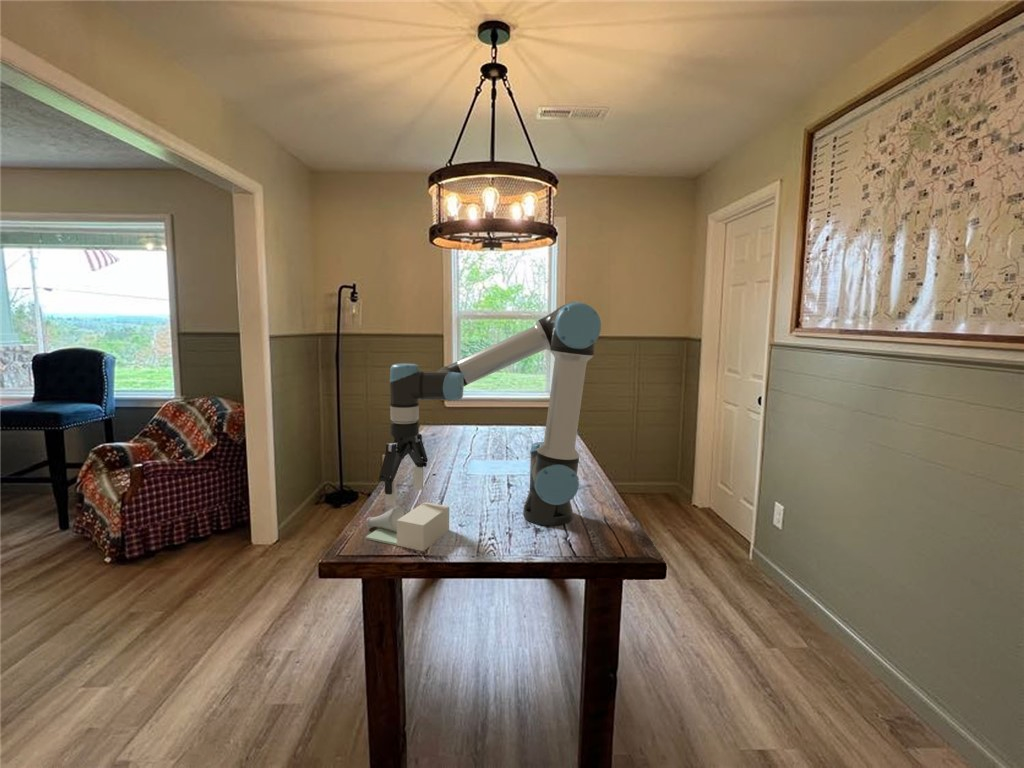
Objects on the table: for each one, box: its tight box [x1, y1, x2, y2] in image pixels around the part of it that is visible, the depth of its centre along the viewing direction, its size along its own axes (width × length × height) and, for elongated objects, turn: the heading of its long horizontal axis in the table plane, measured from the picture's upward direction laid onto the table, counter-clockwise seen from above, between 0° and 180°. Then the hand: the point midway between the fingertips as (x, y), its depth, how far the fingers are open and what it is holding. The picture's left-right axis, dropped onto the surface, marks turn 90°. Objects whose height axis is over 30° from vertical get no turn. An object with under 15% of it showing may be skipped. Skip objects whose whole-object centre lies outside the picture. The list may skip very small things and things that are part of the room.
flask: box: [365, 504, 406, 533], centre depth 136 cm, size 7×7×10 cm
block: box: [396, 501, 450, 552], centre depth 132 cm, size 8×14×7 cm, turn 159°
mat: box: [365, 527, 397, 546], centre depth 135 cm, size 10×14×1 cm
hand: (405, 496), depth 133 cm, fingers open, 13 cm apart
